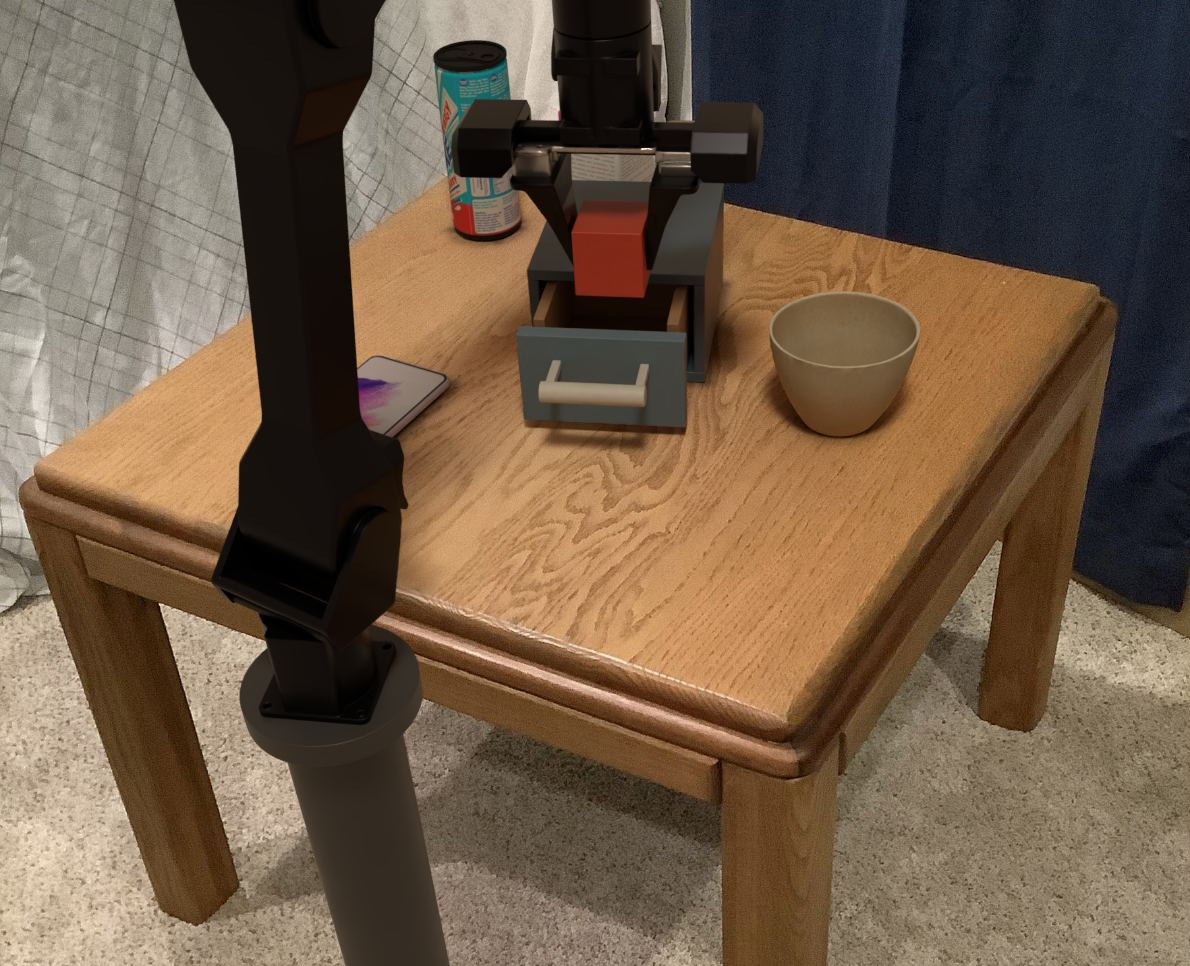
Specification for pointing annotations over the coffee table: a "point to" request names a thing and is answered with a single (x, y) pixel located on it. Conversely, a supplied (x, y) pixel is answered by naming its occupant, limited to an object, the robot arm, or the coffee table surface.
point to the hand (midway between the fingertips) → (614, 265)
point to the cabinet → (680, 259)
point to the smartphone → (395, 392)
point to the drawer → (608, 356)
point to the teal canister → (459, 82)
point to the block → (610, 249)
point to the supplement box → (612, 167)
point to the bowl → (842, 357)
